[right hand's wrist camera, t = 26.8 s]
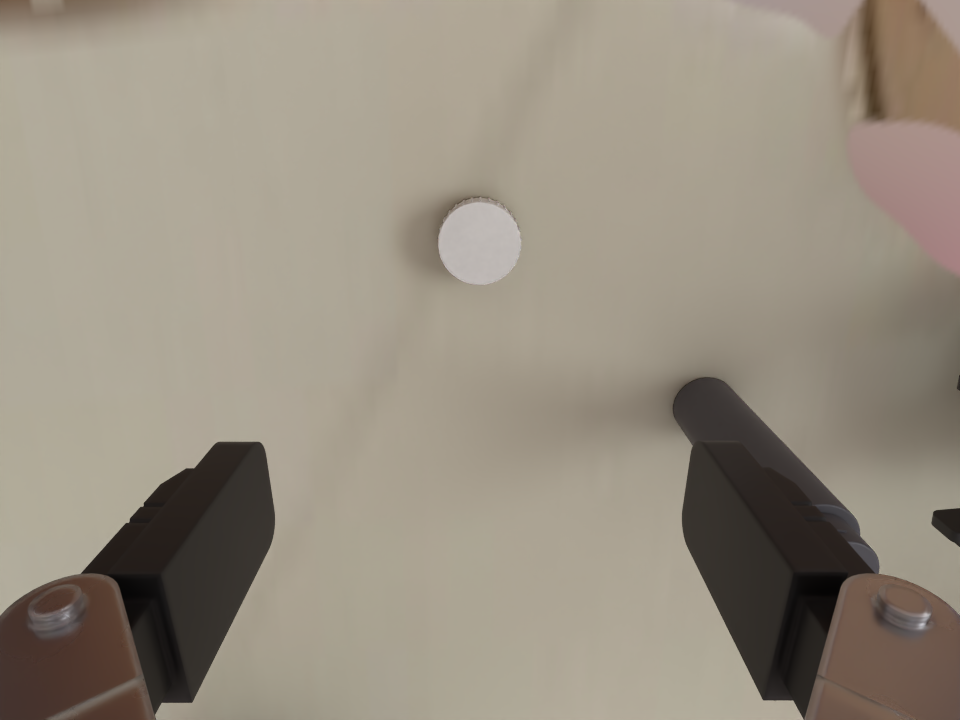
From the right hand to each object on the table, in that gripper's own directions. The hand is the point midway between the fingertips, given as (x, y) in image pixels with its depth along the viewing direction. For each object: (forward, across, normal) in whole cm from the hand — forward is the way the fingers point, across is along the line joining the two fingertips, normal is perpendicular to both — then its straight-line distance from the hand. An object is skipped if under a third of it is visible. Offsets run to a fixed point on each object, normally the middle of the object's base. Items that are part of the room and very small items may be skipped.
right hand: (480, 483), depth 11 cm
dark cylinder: (+27, +15, -11) cm, 33 cm away
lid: (+25, 0, 0) cm, 25 cm away
